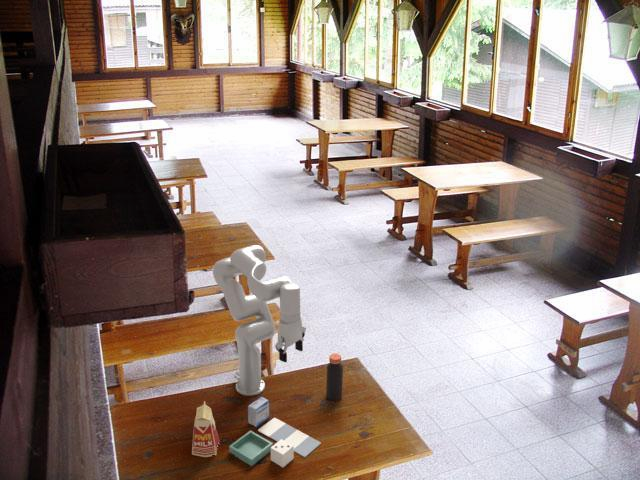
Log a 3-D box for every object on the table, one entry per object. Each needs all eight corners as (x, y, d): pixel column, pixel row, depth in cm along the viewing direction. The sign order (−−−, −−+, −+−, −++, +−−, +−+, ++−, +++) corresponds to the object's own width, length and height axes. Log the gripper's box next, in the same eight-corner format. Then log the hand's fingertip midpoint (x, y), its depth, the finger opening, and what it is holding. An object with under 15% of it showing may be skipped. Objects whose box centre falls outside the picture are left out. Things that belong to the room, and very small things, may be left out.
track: (257, 430, 252) (257, 430, 252) (274, 418, 260) (274, 417, 259) (304, 457, 239) (304, 456, 239) (321, 443, 246) (321, 442, 246)
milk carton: (196, 440, 246) (193, 397, 239) (220, 441, 246) (218, 398, 238) (191, 457, 238) (188, 413, 230) (215, 458, 238) (213, 414, 230)
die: (270, 460, 237) (270, 447, 235) (281, 451, 242) (281, 438, 239) (283, 467, 234) (283, 454, 232) (293, 458, 238) (293, 445, 236)
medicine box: (256, 427, 254) (255, 409, 251) (248, 423, 257) (247, 405, 253) (269, 417, 260) (269, 400, 257) (261, 413, 262) (261, 395, 259)
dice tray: (229, 452, 241) (229, 446, 239) (250, 436, 249) (250, 430, 248) (251, 466, 234) (251, 459, 233) (272, 449, 243) (272, 443, 241)
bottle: (324, 399, 271) (325, 359, 264) (328, 390, 278) (329, 351, 270) (340, 402, 270) (341, 362, 262) (343, 392, 276) (344, 353, 268)
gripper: (296, 304, 247) (297, 343, 253) (267, 321, 234) (269, 362, 240) (312, 309, 243) (312, 348, 249) (283, 327, 230) (284, 368, 236)
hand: (291, 355), depth 245 cm, fingers open, 9 cm apart
